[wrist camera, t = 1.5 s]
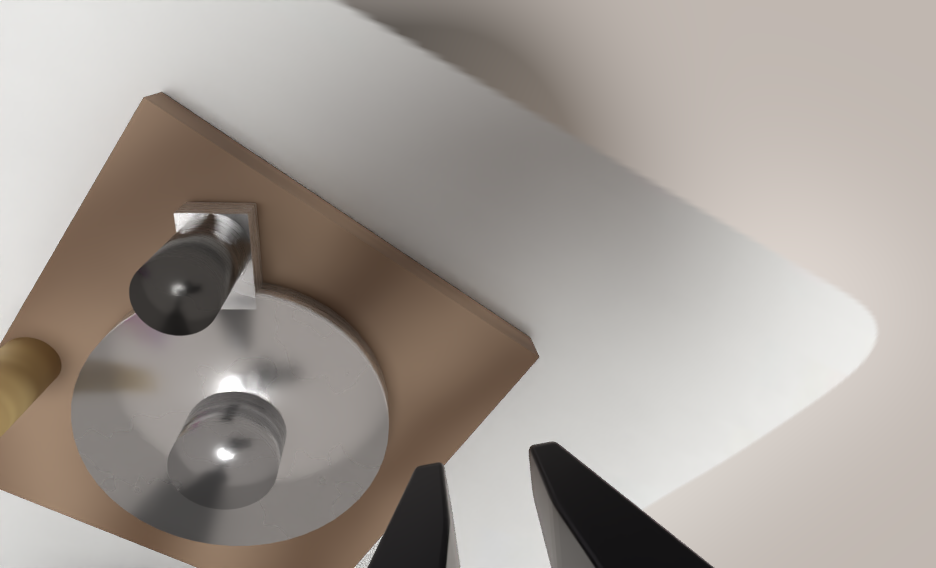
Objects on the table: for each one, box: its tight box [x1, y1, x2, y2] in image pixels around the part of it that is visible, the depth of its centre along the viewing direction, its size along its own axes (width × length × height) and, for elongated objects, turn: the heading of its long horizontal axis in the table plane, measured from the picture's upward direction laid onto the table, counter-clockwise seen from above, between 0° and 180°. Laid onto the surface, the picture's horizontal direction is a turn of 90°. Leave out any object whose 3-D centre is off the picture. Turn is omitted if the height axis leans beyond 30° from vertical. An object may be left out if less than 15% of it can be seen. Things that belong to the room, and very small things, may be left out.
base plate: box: [0, 92, 539, 568], centre depth 20 cm, size 15×15×4 cm
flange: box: [71, 202, 389, 546], centre depth 18 cm, size 12×10×5 cm
